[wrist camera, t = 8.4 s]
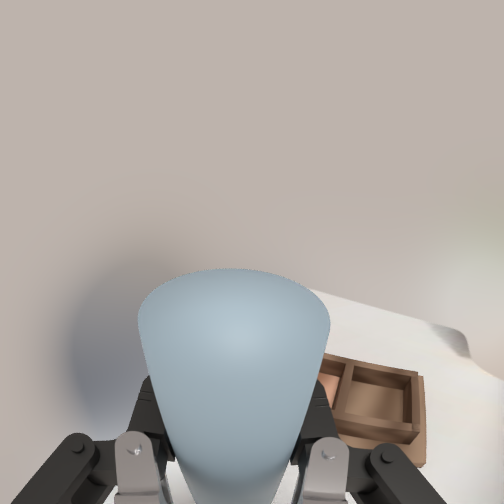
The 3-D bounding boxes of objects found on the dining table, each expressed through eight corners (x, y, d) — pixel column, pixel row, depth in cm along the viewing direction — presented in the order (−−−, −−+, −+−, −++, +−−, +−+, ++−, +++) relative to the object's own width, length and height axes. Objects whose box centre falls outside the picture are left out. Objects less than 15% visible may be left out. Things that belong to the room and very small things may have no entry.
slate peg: (258, 457, 14) (285, 263, 9) (283, 514, 10) (368, 350, 5) (187, 469, 12) (142, 274, 8) (202, 530, 9) (134, 392, 4)
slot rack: (420, 381, 30) (430, 362, 28) (421, 467, 18) (438, 451, 16) (268, 347, 37) (271, 327, 36) (221, 421, 25) (220, 401, 24)
